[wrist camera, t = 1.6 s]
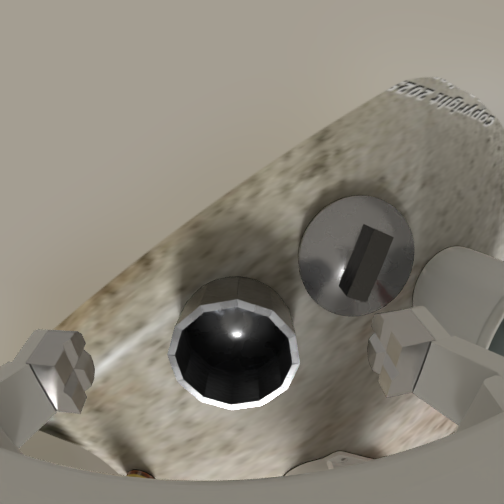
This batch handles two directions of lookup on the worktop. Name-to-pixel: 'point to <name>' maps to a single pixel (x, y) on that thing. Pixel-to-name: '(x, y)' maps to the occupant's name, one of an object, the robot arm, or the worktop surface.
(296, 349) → the pot
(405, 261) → the lid
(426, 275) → the utensil holder
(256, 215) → the worktop surface
